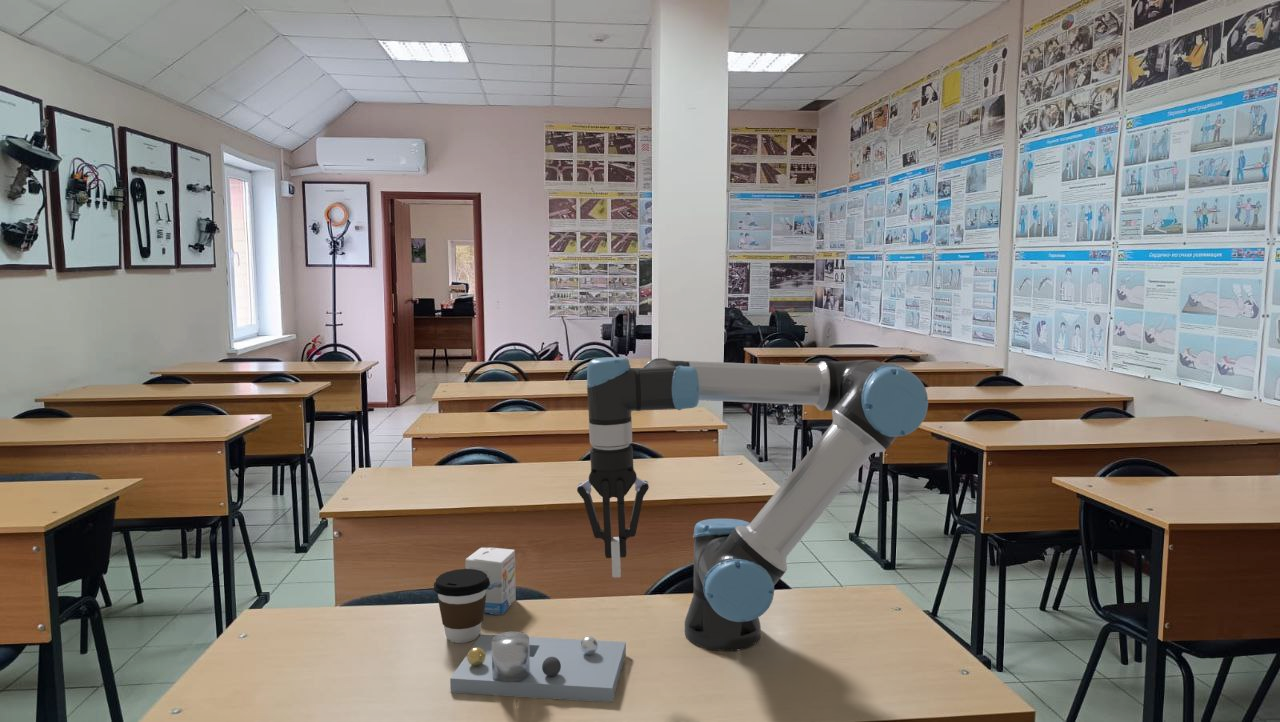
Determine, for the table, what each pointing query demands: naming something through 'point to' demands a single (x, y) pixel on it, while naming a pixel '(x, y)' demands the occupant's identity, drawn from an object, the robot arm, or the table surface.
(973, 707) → the table surface
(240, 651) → the table surface
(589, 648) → the steel ball
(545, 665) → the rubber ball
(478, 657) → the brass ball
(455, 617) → the coffee cup
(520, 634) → the shiny silver cylinder
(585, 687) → the plate
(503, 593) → the ink box
